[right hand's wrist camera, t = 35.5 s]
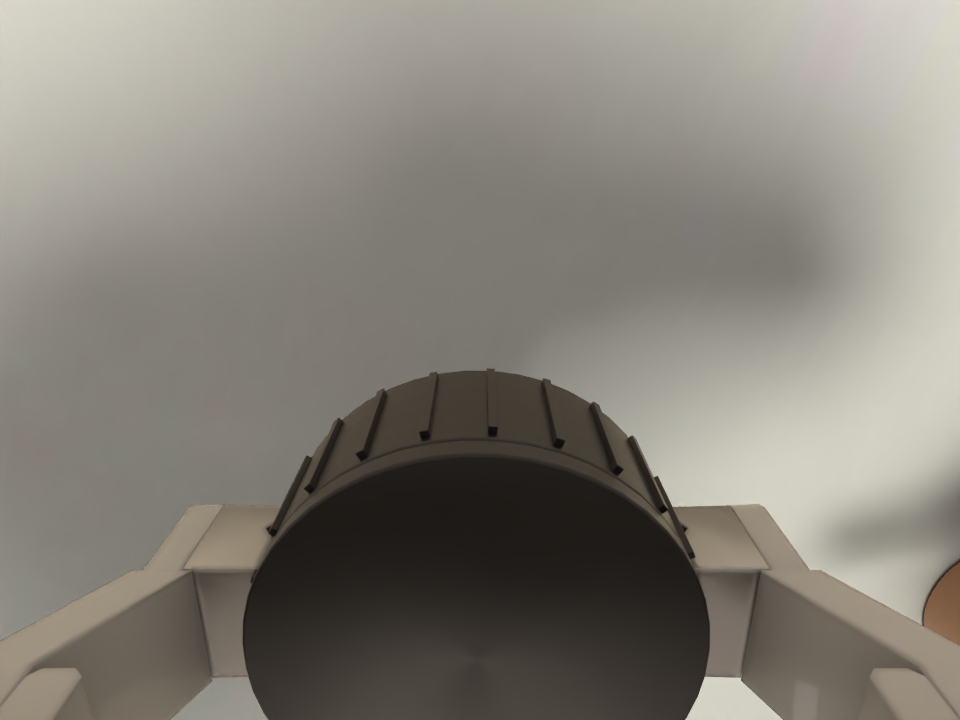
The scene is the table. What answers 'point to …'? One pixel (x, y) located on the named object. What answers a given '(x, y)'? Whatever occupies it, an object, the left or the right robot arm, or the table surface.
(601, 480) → the lid
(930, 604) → the jar
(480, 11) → the table surface
